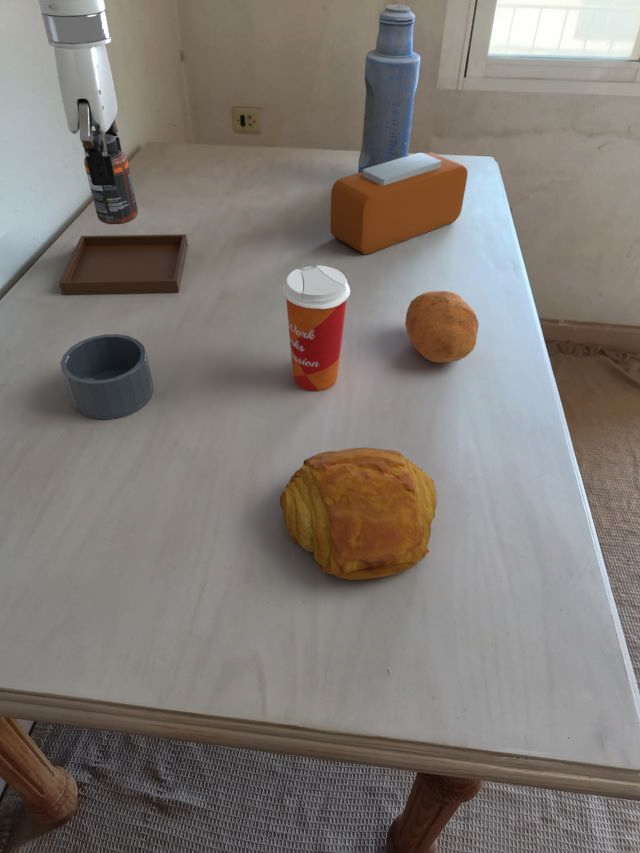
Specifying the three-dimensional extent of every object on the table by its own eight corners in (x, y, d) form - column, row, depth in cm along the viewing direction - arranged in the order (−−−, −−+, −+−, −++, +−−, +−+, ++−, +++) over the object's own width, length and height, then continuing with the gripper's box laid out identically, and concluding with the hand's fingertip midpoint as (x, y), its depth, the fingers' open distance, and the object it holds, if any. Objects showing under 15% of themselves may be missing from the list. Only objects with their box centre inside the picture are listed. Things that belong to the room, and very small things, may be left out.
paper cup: (277, 366, 82) (273, 269, 72) (332, 354, 84) (335, 258, 74) (297, 403, 76) (295, 303, 67) (355, 389, 78) (362, 291, 69)
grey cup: (64, 421, 73) (51, 384, 70) (82, 370, 80) (71, 334, 77) (147, 418, 74) (139, 382, 70) (157, 368, 81) (150, 333, 77)
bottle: (352, 175, 129) (361, 1, 108) (399, 172, 130) (416, 0, 110) (363, 194, 122) (375, 12, 102) (412, 191, 123) (433, 11, 103)
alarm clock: (427, 204, 119) (436, 142, 111) (460, 220, 114) (471, 156, 106) (328, 239, 108) (330, 173, 100) (360, 258, 103) (364, 190, 96)
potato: (466, 328, 89) (476, 281, 84) (480, 377, 81) (492, 329, 75) (401, 327, 89) (407, 279, 84) (408, 376, 80) (415, 327, 75)
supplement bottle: (127, 205, 97) (112, 128, 89) (145, 219, 94) (131, 139, 86) (90, 215, 94) (71, 136, 86) (108, 230, 91) (90, 149, 83)
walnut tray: (62, 295, 94) (58, 283, 92) (83, 246, 105) (80, 235, 103) (178, 292, 95) (176, 280, 93) (187, 245, 106) (186, 234, 104)
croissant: (285, 489, 69) (272, 437, 64) (426, 470, 68) (425, 415, 63) (289, 604, 58) (274, 552, 53) (456, 583, 57) (458, 528, 52)
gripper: (63, 14, 83) (94, 153, 96) (26, 44, 71) (68, 200, 83) (120, 14, 84) (144, 153, 96) (94, 45, 71) (125, 200, 83)
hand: (108, 174), depth 89 cm, fingers closed on supplement bottle, 6 cm apart
